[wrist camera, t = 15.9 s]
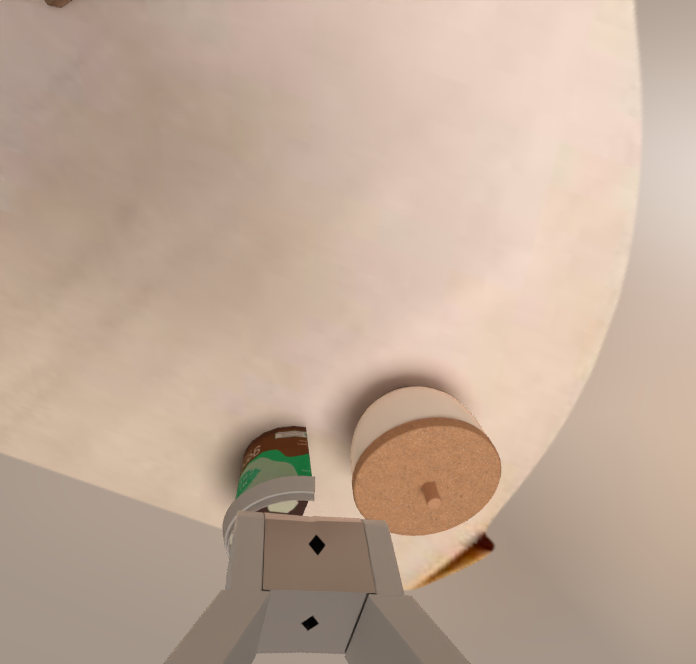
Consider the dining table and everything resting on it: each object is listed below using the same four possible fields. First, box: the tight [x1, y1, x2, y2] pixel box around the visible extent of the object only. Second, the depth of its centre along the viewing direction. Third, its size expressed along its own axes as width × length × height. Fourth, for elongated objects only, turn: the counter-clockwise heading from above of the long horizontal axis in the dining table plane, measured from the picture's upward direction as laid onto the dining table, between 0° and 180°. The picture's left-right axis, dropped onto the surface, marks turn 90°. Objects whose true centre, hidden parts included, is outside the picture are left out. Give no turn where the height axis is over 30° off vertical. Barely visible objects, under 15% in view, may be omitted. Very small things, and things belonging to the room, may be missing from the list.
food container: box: [223, 426, 315, 557], centre depth 45 cm, size 12×6×10 cm, turn 161°
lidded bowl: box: [351, 386, 501, 536], centre depth 44 cm, size 13×13×11 cm
